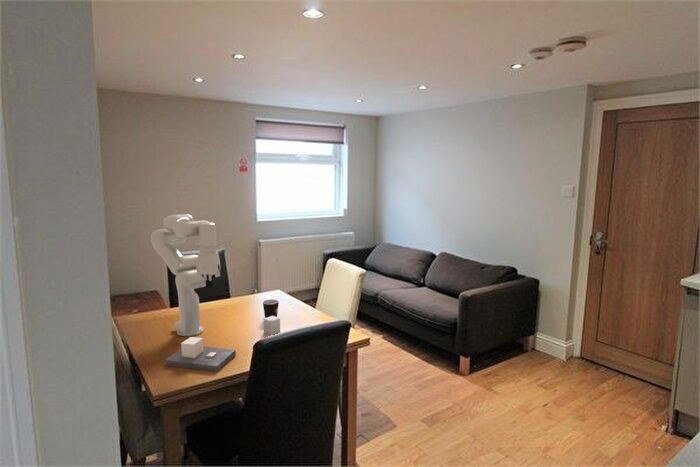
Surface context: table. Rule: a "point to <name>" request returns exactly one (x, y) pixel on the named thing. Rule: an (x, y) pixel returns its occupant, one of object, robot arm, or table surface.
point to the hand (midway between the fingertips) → (209, 288)
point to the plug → (192, 347)
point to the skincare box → (271, 325)
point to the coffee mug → (270, 307)
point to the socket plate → (202, 359)
